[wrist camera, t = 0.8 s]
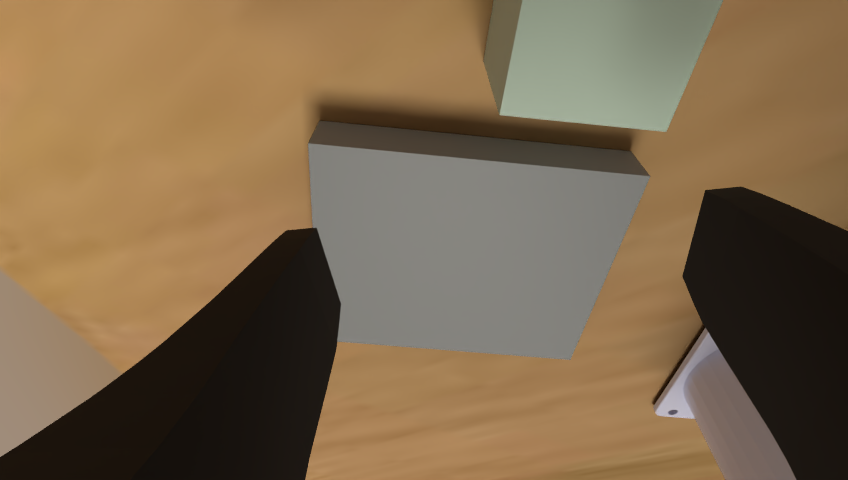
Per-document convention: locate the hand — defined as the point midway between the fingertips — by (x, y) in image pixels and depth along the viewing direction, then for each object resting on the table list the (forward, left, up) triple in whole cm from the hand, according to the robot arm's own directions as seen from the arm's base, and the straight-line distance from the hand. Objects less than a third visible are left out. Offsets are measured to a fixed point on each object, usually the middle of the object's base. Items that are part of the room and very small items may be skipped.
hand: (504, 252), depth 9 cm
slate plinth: (-1, +7, -10) cm, 12 cm away
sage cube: (-3, -3, -10) cm, 10 cm away
